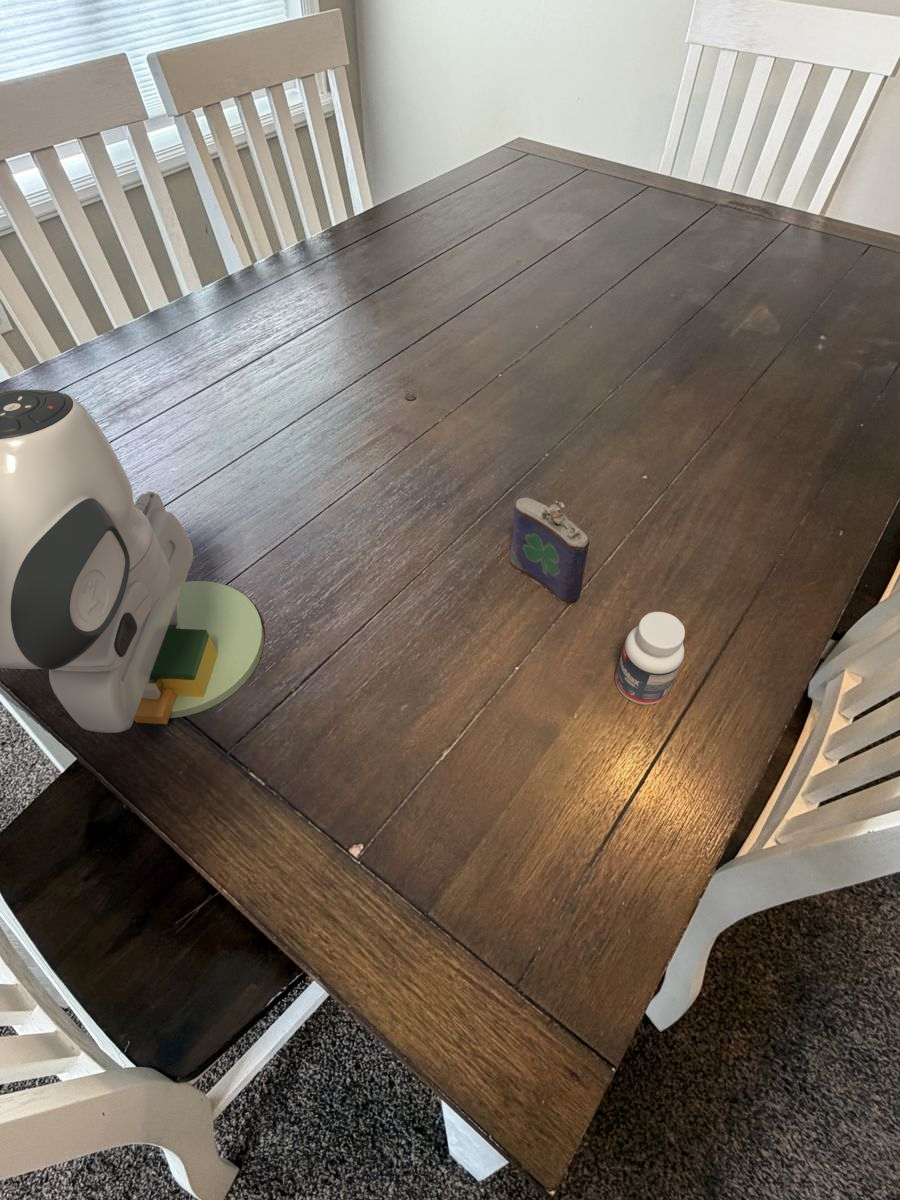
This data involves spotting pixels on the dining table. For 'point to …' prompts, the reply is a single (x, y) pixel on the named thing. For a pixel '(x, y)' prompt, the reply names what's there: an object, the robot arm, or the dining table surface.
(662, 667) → the pill bottle
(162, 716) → the orange square block
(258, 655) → the plate
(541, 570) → the flask
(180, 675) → the sponge
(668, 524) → the dining table surface
